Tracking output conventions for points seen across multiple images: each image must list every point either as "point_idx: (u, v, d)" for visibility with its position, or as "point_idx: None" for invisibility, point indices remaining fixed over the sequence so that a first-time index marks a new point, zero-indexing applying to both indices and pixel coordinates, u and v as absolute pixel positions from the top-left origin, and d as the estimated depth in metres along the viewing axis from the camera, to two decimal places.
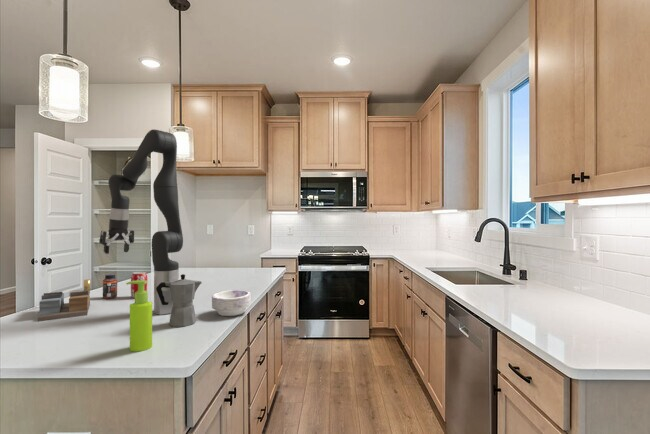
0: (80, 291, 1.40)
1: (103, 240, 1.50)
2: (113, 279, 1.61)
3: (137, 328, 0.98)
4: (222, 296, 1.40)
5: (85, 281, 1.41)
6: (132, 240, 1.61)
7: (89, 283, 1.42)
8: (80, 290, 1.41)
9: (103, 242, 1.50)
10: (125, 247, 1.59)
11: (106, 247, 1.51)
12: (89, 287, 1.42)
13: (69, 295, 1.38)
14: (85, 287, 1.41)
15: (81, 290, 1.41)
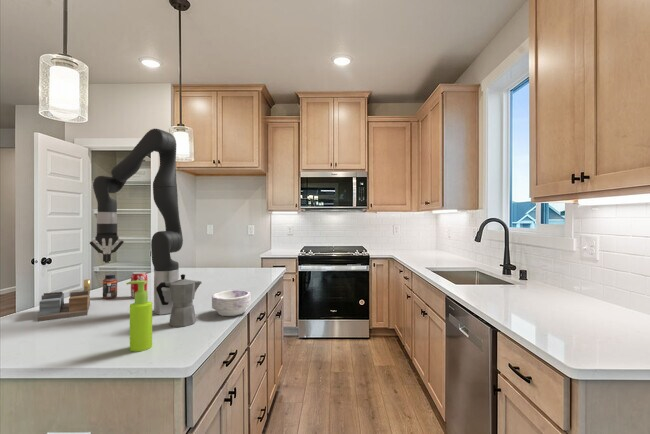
0: (80, 291, 1.40)
1: (96, 249, 1.43)
2: (113, 279, 1.61)
3: (137, 328, 0.98)
4: (222, 296, 1.40)
5: (85, 281, 1.41)
6: (113, 249, 1.46)
7: (89, 283, 1.42)
8: (80, 290, 1.41)
9: (99, 250, 1.43)
10: None
11: (104, 256, 1.45)
12: (89, 287, 1.42)
13: (69, 295, 1.38)
14: (85, 287, 1.41)
15: (81, 290, 1.41)
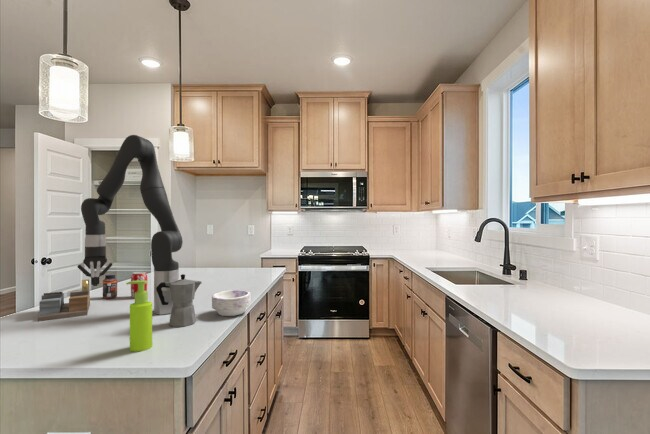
0: (78, 291, 1.39)
1: (84, 273, 1.41)
2: (113, 279, 1.61)
3: (137, 328, 0.98)
4: (222, 296, 1.40)
5: (83, 281, 1.41)
6: (102, 272, 1.44)
7: (87, 283, 1.42)
8: (78, 290, 1.41)
9: (87, 273, 1.41)
10: None
11: (92, 279, 1.43)
12: (88, 287, 1.42)
13: (67, 295, 1.37)
14: (83, 287, 1.41)
15: (79, 290, 1.41)
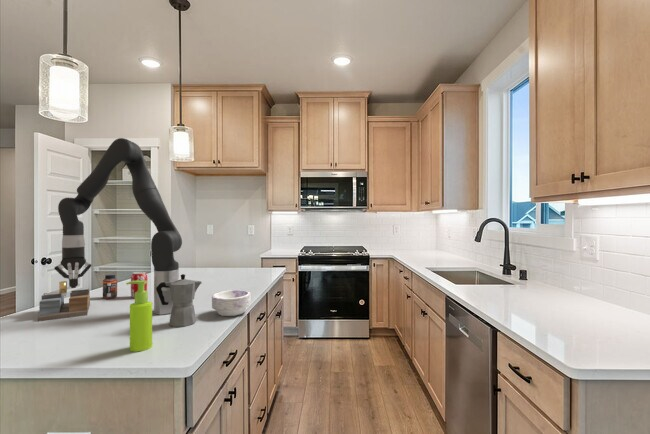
0: (55, 293, 1.35)
1: (62, 274, 1.37)
2: (113, 279, 1.61)
3: (137, 328, 0.98)
4: (222, 296, 1.40)
5: (61, 283, 1.37)
6: (80, 274, 1.40)
7: (65, 285, 1.38)
8: (56, 292, 1.37)
9: (64, 275, 1.37)
10: None
11: (70, 281, 1.39)
12: (65, 289, 1.38)
13: None
14: (61, 289, 1.37)
15: (57, 292, 1.37)
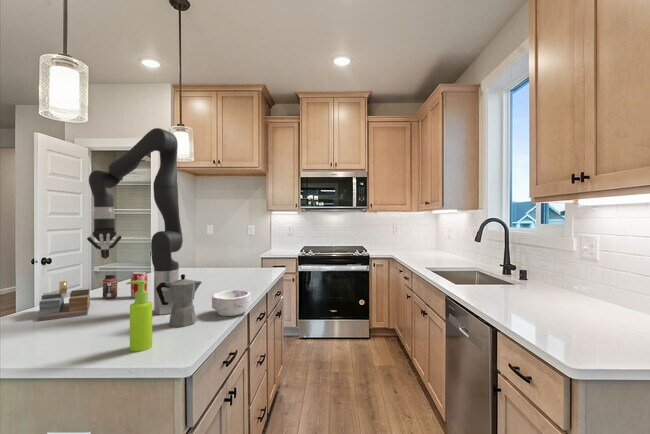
0: (55, 293, 1.35)
1: (94, 245, 1.41)
2: (113, 279, 1.61)
3: (137, 328, 0.98)
4: (222, 296, 1.40)
5: (61, 283, 1.37)
6: (111, 245, 1.44)
7: (65, 285, 1.38)
8: (56, 292, 1.37)
9: (97, 246, 1.41)
10: None
11: (102, 251, 1.42)
12: (65, 289, 1.38)
13: None
14: (61, 289, 1.37)
15: (57, 292, 1.37)
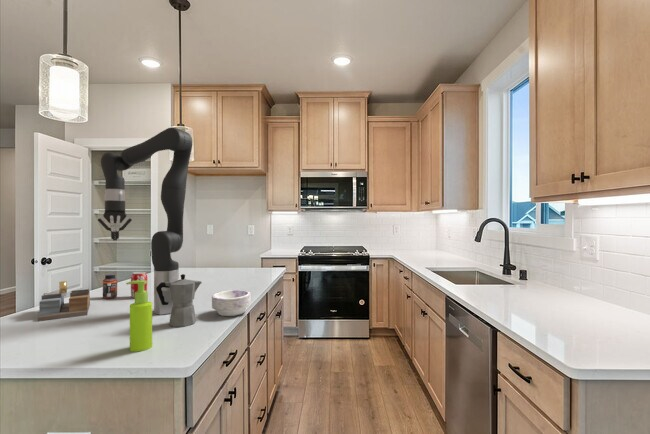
0: (55, 293, 1.35)
1: (105, 226, 1.42)
2: (113, 279, 1.61)
3: (137, 328, 0.98)
4: (222, 296, 1.40)
5: (61, 283, 1.37)
6: (121, 227, 1.45)
7: (65, 285, 1.38)
8: (56, 292, 1.37)
9: (107, 227, 1.42)
10: None
11: (112, 233, 1.44)
12: (65, 289, 1.38)
13: None
14: (61, 289, 1.37)
15: (57, 292, 1.37)
